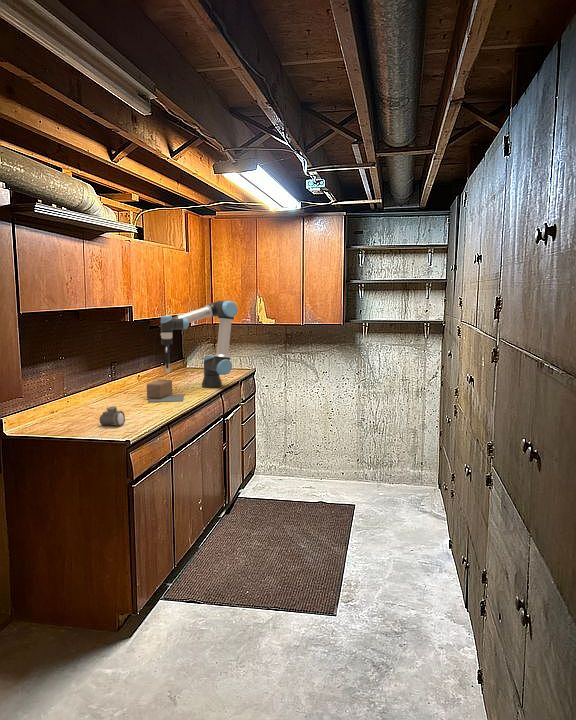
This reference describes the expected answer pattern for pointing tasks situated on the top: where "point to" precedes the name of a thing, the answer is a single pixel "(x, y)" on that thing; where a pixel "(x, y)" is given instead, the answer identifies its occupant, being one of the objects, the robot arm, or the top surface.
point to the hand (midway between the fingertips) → (167, 372)
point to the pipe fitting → (112, 417)
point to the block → (159, 389)
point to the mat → (169, 399)
